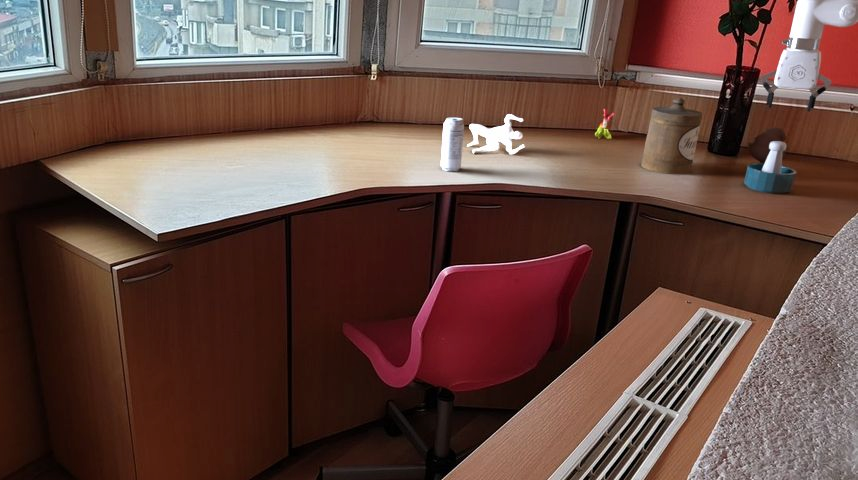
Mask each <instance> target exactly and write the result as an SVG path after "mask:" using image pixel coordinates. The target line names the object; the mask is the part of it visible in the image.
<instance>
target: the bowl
mask: <svg viewBox="0 0 858 480" xmlns="http://www.w3.org/2000/svg"><path fill="white" fill-rule="evenodd" d="M763 166H764V163H760V162H758V163H757V162H755V163H749V164H748V165H747V168H746V173H745V177H744V181H743V184H744V185H745V186H746V187H747V188H749V189H750V190H754V191H757V192H760V193H767V194H774V195H781V194H788V193H789V192H792V191H793V188H794V186H795V185H794V184H795V180H796V177H797V170H795V169H793V168H790V167H787V166H784V165H782V169H781V174H778V173H769V172H764V171H761V170H762V168H763Z"/></svg>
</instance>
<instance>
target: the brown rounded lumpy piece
mask: <svg viewBox="0 0 858 480" xmlns="http://www.w3.org/2000/svg"><path fill="white" fill-rule="evenodd" d="M786 139H787V135H786V132H785V130H784V129H783V128H781V127H777V126H773V127H770V128H767V130H765V131H764V132H762V133H760V134H758V135H757V136H755V137H754V139H753V140H751V141H749V142H748V143H747V150H748V152H749V154H750V156H751V157H752V158H753V159H755V160H756V161H758V163H764V164H765V161H766V159H767V157H768V155H769V153H770V150H771V149H769V145H770V143H771V142H773V141H781V142H784V143H785V141H786ZM788 148H789V146H786V150H785V151H783V152H782V157H783V156H784V155H785V154H786V153H787V150H788Z"/></svg>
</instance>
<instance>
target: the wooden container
mask: <svg viewBox="0 0 858 480" xmlns="http://www.w3.org/2000/svg"><path fill="white" fill-rule="evenodd" d="M685 101H686V100H685V99H684V98H682V97H676V98H674V99H673V100H672V103H673V104H672V105H671V106H655V107H653V108H652V110H651V113H650V115H651V116H650V120H649V125H648V130H647V133H646V139H645V142H644V147H643V149H644V150H643V154H642V159H641V164H640V165H641V167H642V168H644V169H645V170H647V171H652V172H656V173H659V174H667V175H668V174H669V175H687V174H690V173H691V171H692V167H693V162H694V158H695V155H696V154H695V153H696V149H697V144H698V139H699V132H700V127H701V123H702V119H703V112H702V111H699V110H695V109H690V108H686V107H685V105H684V104H685Z"/></svg>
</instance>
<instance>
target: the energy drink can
mask: <svg viewBox="0 0 858 480" xmlns="http://www.w3.org/2000/svg"><path fill="white" fill-rule="evenodd" d="M463 121H464V119H463V118H461V117H455V116H454V117H453V116H451V117H449V116H448V117H446V118H445V121H444V122H443V128H442V143H441V156H440V167H441V169H442V170H443V171H445V172H458V171H460V168H461V167H462V157H463V147H464V146H463V145H464V144H463V143H464V132H465V124H464V122H463Z"/></svg>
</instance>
